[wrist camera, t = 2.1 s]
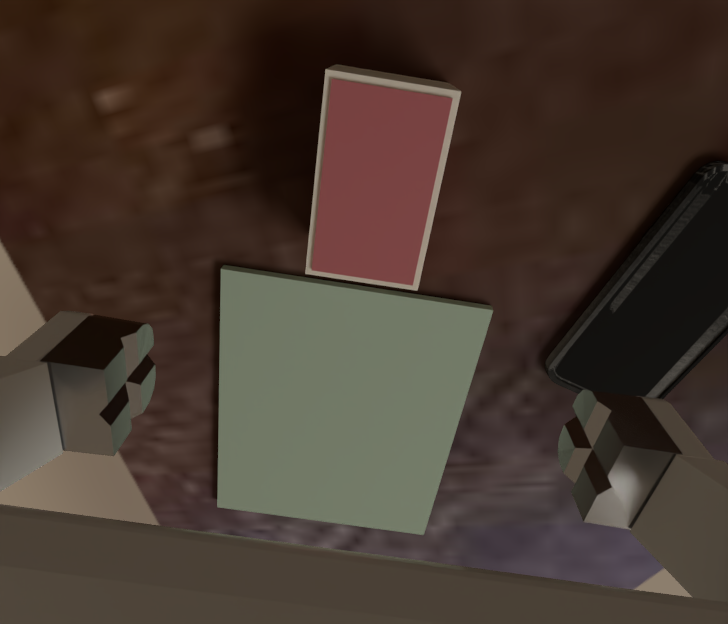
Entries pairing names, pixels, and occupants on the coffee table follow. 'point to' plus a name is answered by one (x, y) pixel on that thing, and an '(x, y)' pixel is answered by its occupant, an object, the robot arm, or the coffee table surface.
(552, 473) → the coffee table surface
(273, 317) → the mat
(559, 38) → the coffee table surface
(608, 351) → the phone
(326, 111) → the card case
